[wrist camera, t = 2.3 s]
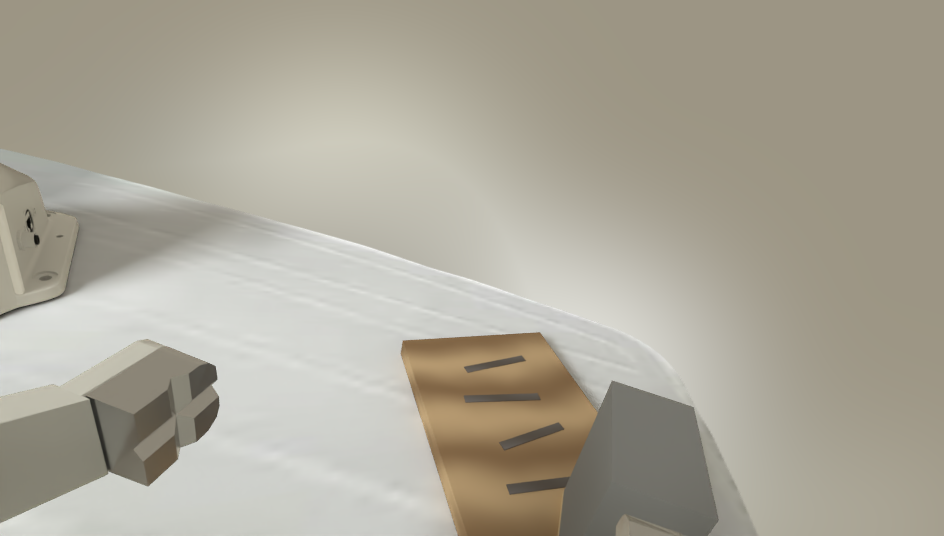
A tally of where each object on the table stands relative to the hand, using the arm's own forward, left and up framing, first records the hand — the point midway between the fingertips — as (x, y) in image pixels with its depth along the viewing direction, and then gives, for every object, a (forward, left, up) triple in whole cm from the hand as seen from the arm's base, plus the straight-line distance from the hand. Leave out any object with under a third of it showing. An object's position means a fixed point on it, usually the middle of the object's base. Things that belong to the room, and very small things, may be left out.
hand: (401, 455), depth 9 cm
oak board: (-13, +15, -20) cm, 29 cm away
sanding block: (-5, +15, -19) cm, 25 cm away
